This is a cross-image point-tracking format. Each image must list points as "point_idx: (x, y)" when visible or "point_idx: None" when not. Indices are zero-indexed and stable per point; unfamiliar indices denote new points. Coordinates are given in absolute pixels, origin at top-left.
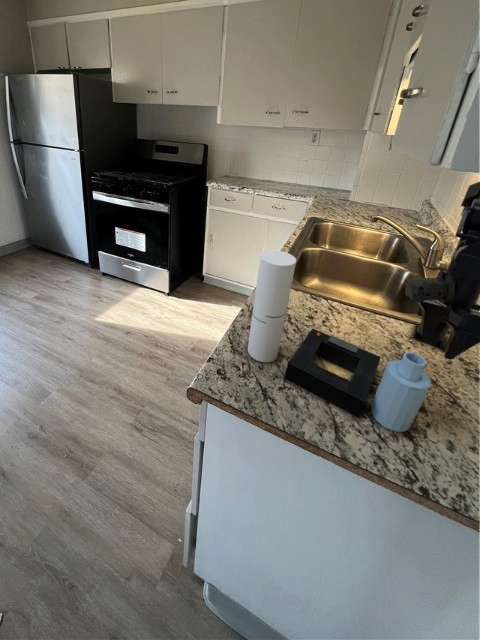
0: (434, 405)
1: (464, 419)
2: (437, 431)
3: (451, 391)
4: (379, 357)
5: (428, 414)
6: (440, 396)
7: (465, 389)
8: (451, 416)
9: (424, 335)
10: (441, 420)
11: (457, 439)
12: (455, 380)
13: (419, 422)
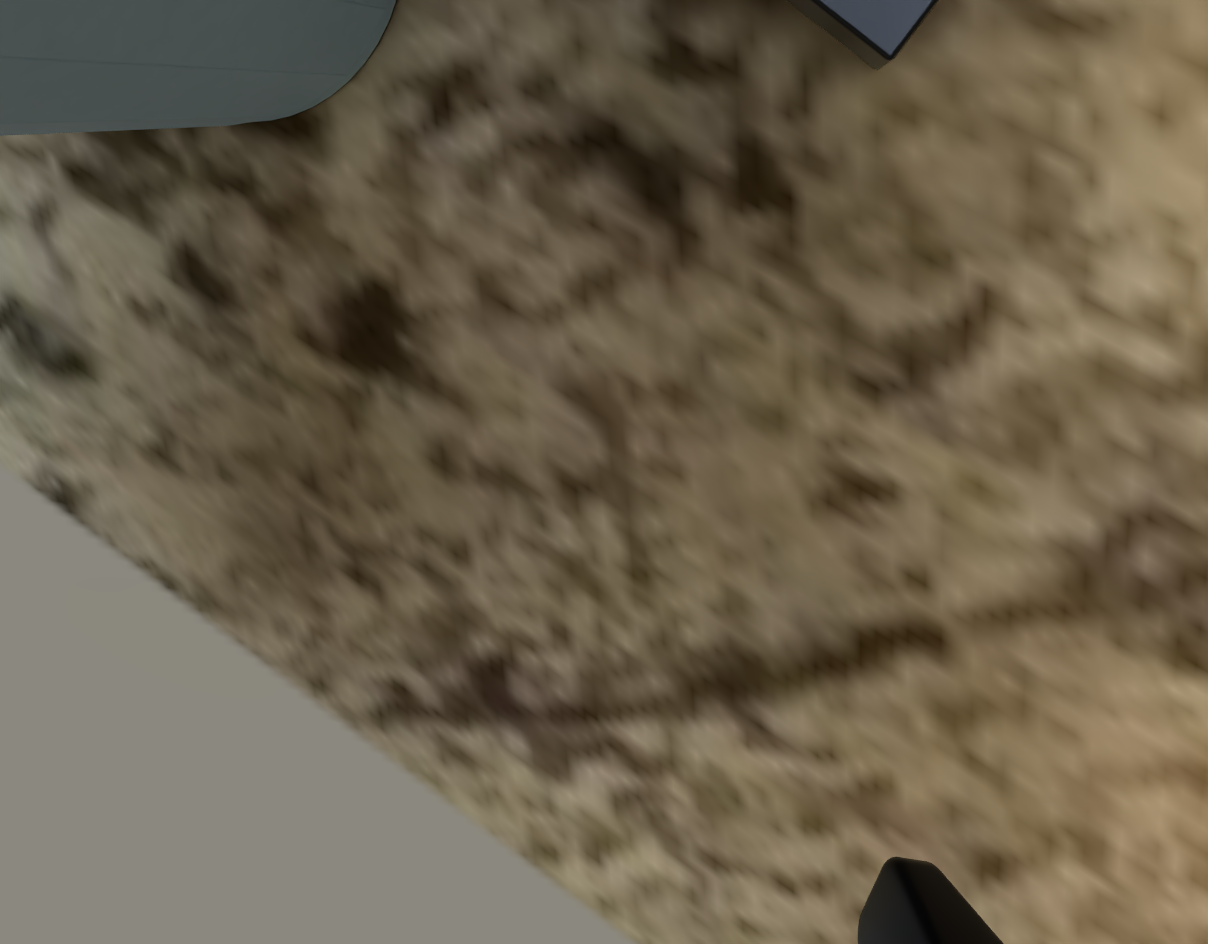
0: (434, 492)
1: (322, 645)
2: (155, 327)
3: (622, 765)
4: (871, 24)
5: (321, 364)
6: (550, 623)
7: (655, 900)
8: (334, 560)
9: (884, 901)
10: (276, 442)
11: (116, 447)
12: (765, 900)
13: (215, 215)
